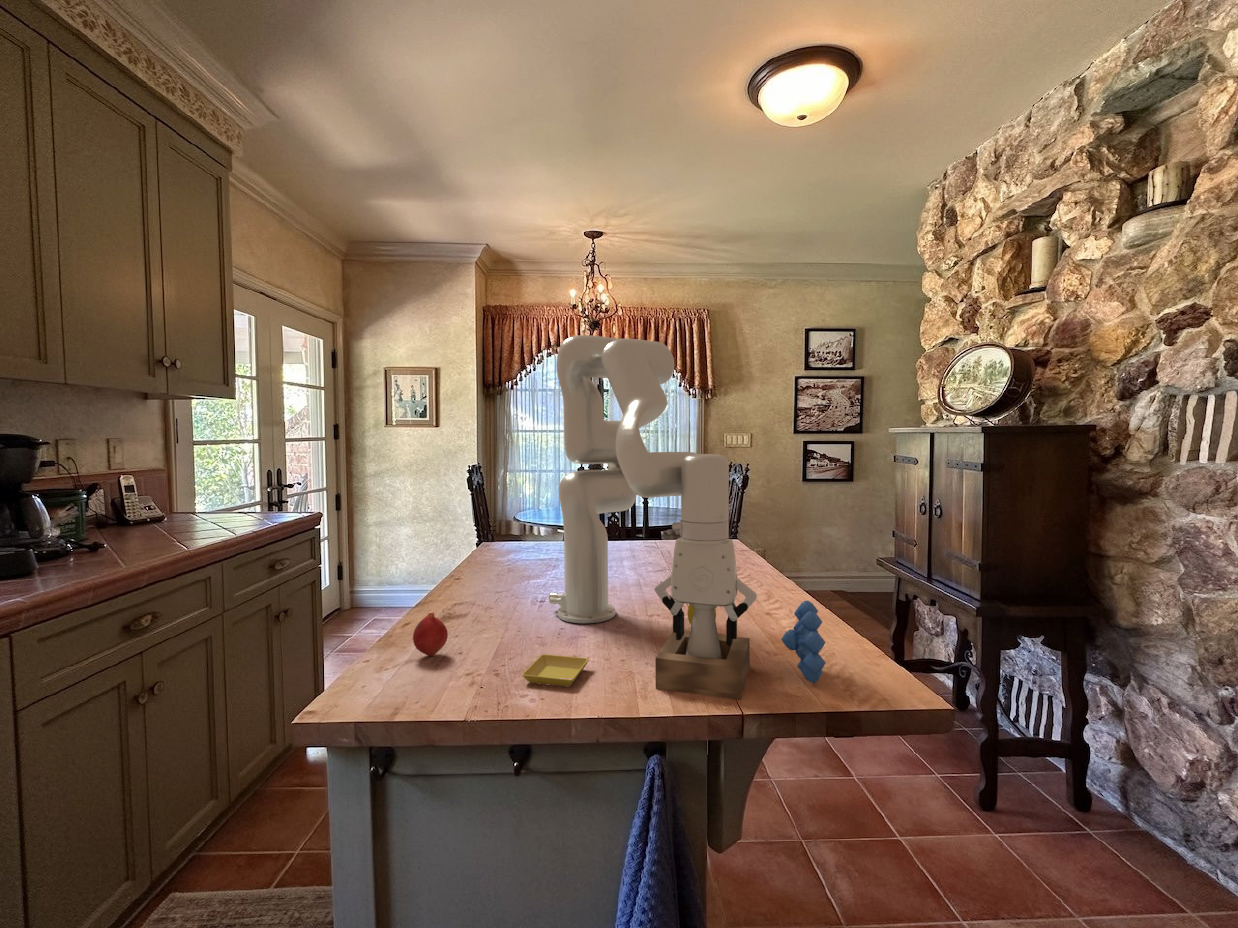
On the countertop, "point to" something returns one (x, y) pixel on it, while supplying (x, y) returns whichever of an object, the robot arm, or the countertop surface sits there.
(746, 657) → the shaker holder
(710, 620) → the salt shaker
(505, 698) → the countertop surface
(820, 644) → the grapes
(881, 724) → the countertop surface
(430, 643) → the onion
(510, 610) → the countertop surface
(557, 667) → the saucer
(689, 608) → the lemon
